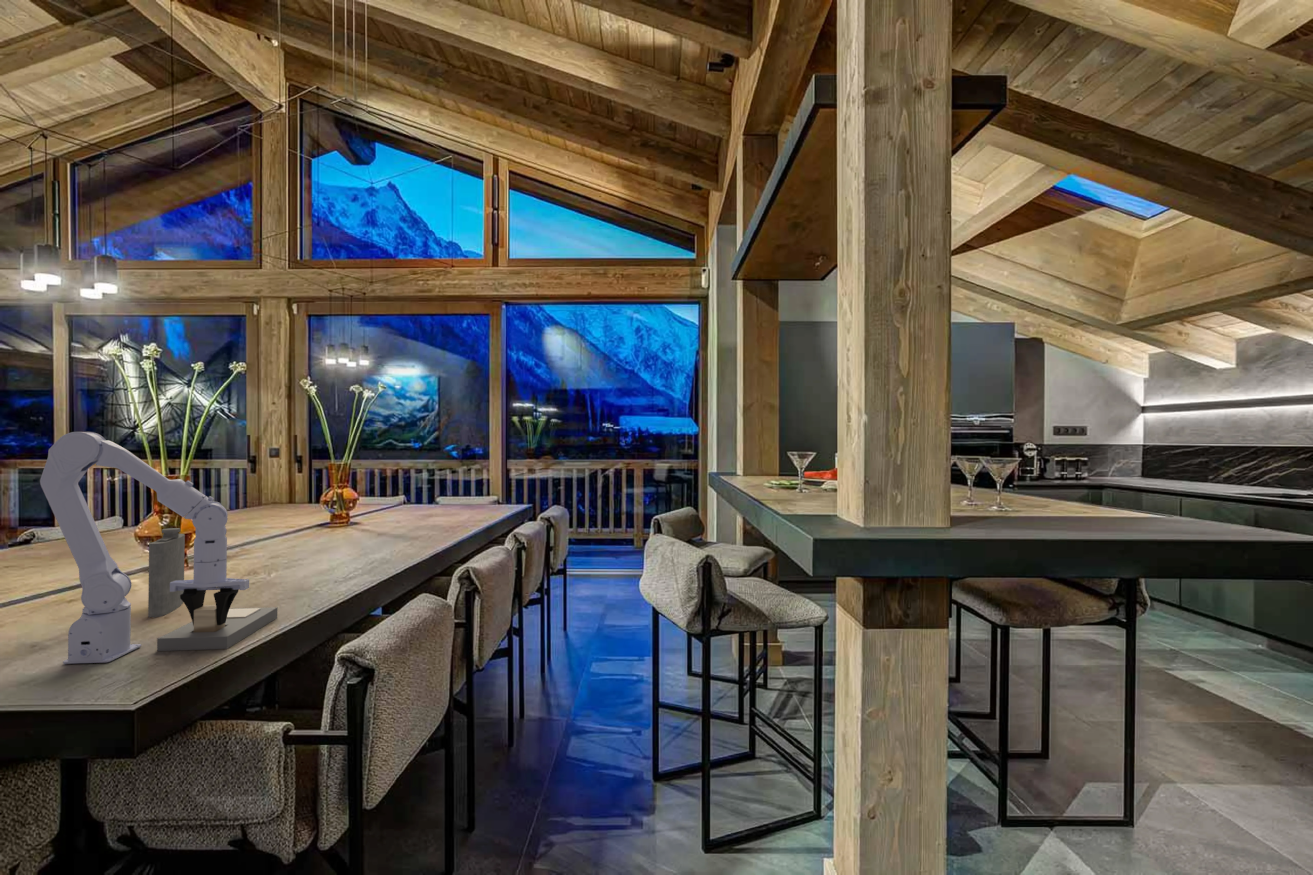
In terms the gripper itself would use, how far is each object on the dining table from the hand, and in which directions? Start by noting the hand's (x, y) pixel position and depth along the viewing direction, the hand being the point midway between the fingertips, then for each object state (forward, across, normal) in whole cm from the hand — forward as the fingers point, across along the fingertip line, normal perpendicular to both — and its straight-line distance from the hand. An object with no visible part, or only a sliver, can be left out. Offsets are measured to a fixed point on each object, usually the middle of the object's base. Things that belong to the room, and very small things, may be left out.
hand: (209, 624), depth 133 cm
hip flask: (+4, +24, -27) cm, 36 cm away
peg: (+3, 0, 0) cm, 3 cm away
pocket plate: (+3, 0, -5) cm, 6 cm away
